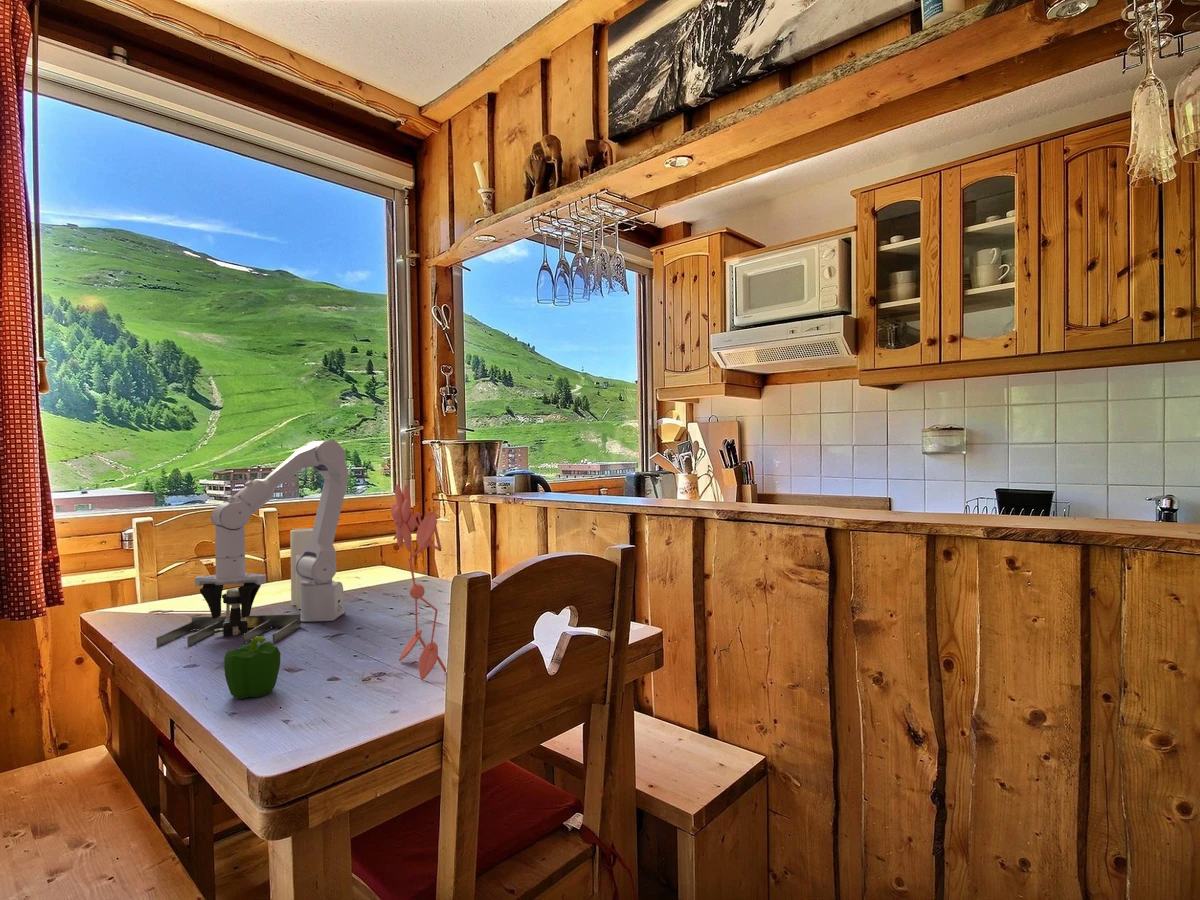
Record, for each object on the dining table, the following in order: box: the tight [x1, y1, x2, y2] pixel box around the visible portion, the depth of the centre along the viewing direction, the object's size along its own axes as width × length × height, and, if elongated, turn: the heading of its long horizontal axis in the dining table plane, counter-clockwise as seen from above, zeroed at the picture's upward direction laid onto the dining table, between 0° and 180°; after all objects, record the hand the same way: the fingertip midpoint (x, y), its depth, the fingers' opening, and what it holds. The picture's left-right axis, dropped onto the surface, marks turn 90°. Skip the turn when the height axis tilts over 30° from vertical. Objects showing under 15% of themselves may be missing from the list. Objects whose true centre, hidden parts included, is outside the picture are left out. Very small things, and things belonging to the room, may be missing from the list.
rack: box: [156, 613, 302, 647], centre depth 136 cm, size 25×13×3 cm, turn 93°
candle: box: [289, 527, 313, 610], centre depth 164 cm, size 11×7×20 cm, turn 41°
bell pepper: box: [223, 635, 281, 700], centre depth 103 cm, size 8×8×10 cm
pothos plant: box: [390, 483, 447, 681], centre depth 112 cm, size 15×26×35 cm, turn 32°
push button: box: [214, 587, 248, 637], centre depth 137 cm, size 7×5×10 cm
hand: (231, 616), depth 136 cm, fingers open, 6 cm apart
